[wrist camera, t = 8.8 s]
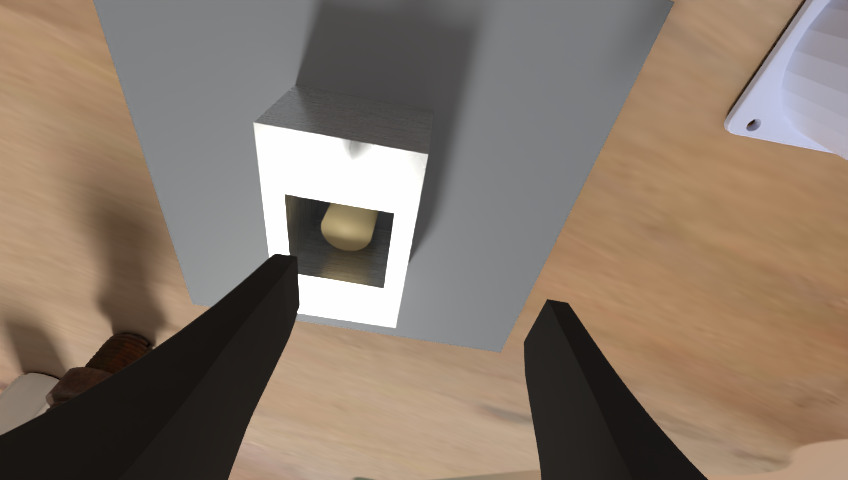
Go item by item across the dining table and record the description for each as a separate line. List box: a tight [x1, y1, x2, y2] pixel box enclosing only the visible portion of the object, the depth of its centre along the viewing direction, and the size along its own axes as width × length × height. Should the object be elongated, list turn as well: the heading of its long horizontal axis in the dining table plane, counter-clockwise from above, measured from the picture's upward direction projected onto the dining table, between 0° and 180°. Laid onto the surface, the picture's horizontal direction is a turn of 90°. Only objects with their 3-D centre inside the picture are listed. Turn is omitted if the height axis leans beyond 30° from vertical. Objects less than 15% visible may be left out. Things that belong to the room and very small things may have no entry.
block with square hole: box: [253, 84, 434, 328], centre depth 16 cm, size 6×9×4 cm, turn 171°
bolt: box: [45, 334, 153, 412], centre depth 24 cm, size 6×5×15 cm
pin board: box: [93, 0, 674, 352], centre depth 18 cm, size 20×20×4 cm
